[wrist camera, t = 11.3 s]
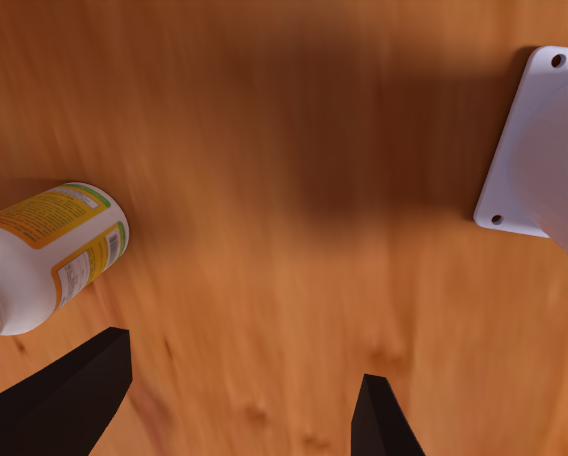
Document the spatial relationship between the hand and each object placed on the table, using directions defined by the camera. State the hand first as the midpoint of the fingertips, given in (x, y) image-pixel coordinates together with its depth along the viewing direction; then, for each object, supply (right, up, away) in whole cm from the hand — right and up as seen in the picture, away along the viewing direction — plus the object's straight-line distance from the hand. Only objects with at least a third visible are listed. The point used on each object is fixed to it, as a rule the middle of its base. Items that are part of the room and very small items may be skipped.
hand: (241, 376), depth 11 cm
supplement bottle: (-10, +5, +12) cm, 16 cm away
